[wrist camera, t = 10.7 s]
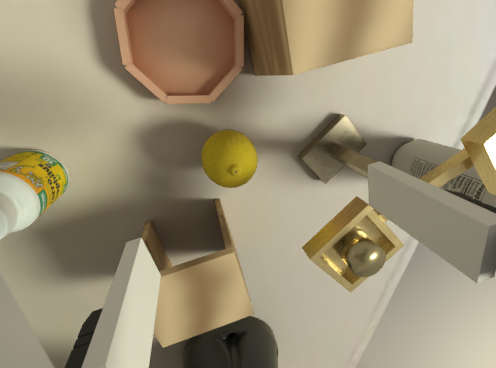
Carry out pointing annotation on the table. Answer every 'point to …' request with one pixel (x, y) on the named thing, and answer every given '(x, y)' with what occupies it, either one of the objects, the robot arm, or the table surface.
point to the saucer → (181, 46)
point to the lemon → (229, 158)
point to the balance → (369, 220)
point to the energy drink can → (432, 155)
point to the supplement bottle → (29, 188)
